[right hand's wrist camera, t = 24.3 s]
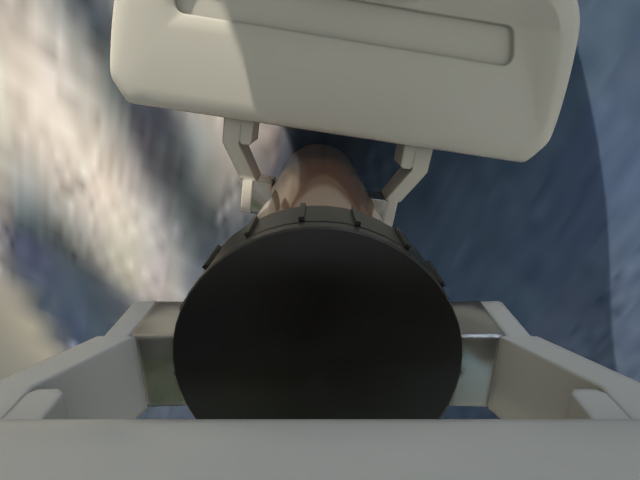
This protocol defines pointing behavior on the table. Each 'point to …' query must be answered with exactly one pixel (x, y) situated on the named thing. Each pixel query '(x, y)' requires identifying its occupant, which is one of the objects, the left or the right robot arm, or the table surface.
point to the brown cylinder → (318, 183)
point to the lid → (317, 324)
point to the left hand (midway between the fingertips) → (316, 219)
